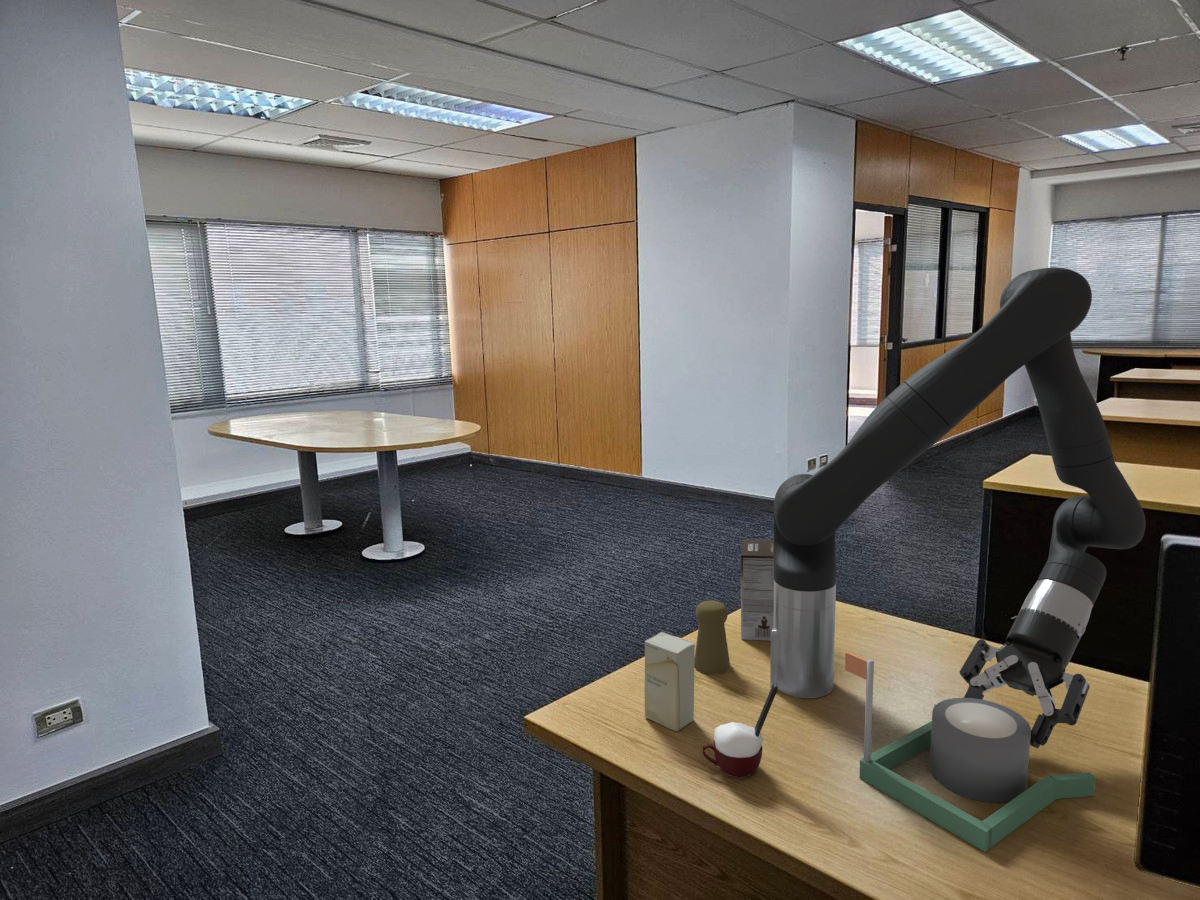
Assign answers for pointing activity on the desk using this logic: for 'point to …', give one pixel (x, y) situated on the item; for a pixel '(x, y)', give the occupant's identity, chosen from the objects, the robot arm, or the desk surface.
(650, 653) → the skincare box
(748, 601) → the coffee box
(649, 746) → the desk surface
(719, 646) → the cork
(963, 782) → the grey cylinder
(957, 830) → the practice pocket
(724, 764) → the cocoa
